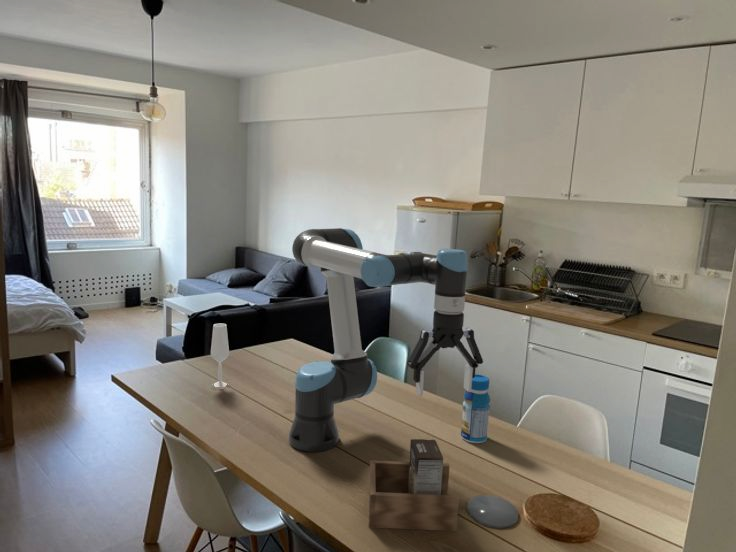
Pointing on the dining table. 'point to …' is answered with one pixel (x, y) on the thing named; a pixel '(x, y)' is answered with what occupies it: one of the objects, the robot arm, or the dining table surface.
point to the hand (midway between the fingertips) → (443, 392)
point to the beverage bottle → (476, 411)
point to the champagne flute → (219, 349)
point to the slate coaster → (492, 511)
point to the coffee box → (425, 467)
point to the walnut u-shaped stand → (408, 500)
